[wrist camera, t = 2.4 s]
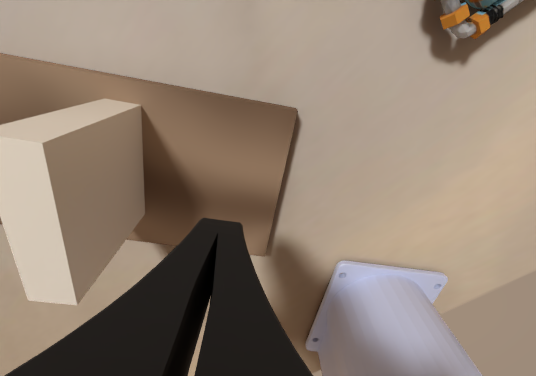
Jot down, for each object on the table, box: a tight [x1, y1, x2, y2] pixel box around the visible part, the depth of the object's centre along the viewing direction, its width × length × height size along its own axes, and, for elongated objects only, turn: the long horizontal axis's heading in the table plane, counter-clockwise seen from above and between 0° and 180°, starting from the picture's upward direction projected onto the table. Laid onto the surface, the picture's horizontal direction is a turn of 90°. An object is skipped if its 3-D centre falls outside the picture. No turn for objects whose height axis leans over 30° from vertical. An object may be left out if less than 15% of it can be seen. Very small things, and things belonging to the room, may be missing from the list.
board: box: [0, 53, 298, 256], centre depth 13 cm, size 9×20×1 cm, turn 80°
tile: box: [0, 99, 145, 305], centre depth 10 cm, size 6×2×6 cm, turn 170°
